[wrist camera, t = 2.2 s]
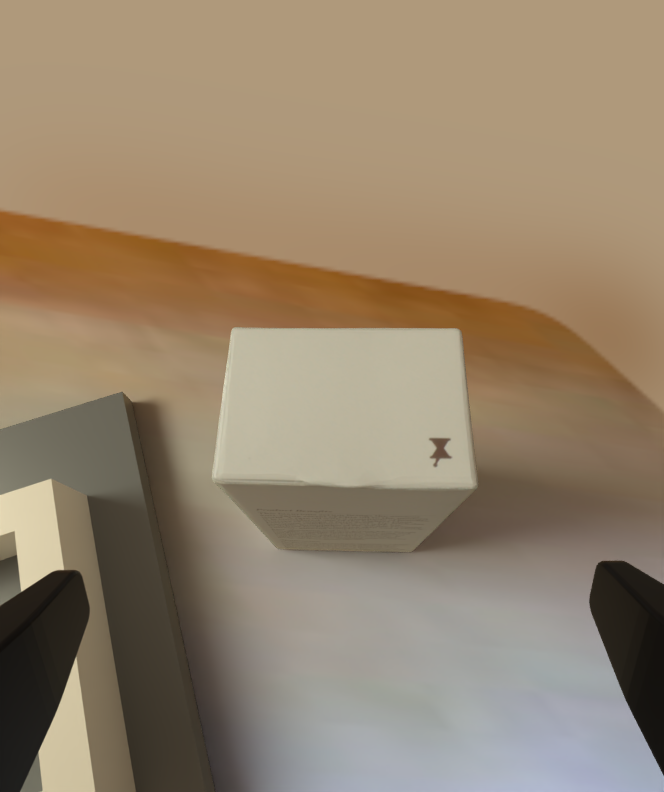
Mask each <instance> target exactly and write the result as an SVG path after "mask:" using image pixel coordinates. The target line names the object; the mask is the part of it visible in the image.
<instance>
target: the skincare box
mask: <svg viewBox="0 0 664 792" xmlns="http://www.w3.org/2000/svg"><path fill="white" fill-rule="evenodd" d="M212 480H213V481H214V482H215V484H216V485H217V486H218V487H219V488H220V489H222V490H223V491H224V493H225V494H226V495H227V496H228V497H229V498H230V499H231V500H232V501H233V502H234V503H235V504H236V505H237V506H238V507H239V508H240V509H241V510H242V511H243V512H244V514H246V516H247V517H248V518H249V519H250V520H251V521H252V522H253V523H254V524H255V525H256V526H257V527H258V529H259V530H260V531H261V532H262V533H263V534H264V535H265V536H266V537H267V538H268V539H269V540H270V542H271V543H272V544H273V545H274V546H275V547H276V548H278V549H292V550H332V551H375V552H412V551H413V550H414V549H415V548H417V546H419V544H421V543H422V542H423V540H425V538H427V537H428V536H429V535H430V534H431V533H432V532H433V531H434V530H435V529H436V528H437V527H438V526H439V525H440V524H441V523H442V522H443V521H444V520H445V519H446V518H447V517H448V516H449V515H450V514H451V513H452V512H453V511H454V510H455V509H456V508H457V507H459V506H460V505H461V504H462V503H463V502H464V501H465V500H466V499H467V498H468V497H469V496H470V495H471V494H472V493H473V492H474V491H475V490H476V489H477V487H478V477H477V469H476V460H475V452H474V443H473V434H472V425H471V416H470V406H469V397H468V388H467V378H466V369H465V359H464V349H463V339H462V333H461V331H460V330H459V329H456V328H452V329H436V328H241V327H236V328H233V329H232V331H231V338H230V345H229V352H228V359H227V367H226V374H225V381H224V389H223V397H222V405H221V412H220V418H219V425H218V433H217V441H216V449H215V457H214V465H213V472H212Z"/></svg>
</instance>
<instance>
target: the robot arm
mask: <svg viewBox="0 0 664 792" xmlns="http://www.w3.org/2000/svg"><path fill="white" fill-rule="evenodd" d="M589 603H590V609H591V613H592V616H593V618H594V621H595V623H596V626H597V628H598V631H599V634H600V636H601V639H602V641H603V644H604V646H605V649H606V652H607V654H608V657H609V659H610V662H611V664H612V667H613V670H614V672H615V675H616V677H617V680H618V682H619V685H620V687H621V690H622V692H623V694H624V697H625V699H626V701H627V703H628V706H629V708H630V710H631V712H632V714H633V716H634V718H635V720H636V722H637V724H638V726H639V728H640V730H641V732H642V734H643V736H644V738H645V740H646V742H647V744H648V746H649V747H650V749H651V751H652V753H653V755H654V757H655V759H656V761H657V763H658V765H659V767H660V769H661V771H662V773H663V775H664V584H662V583H660V582H659V581H657V580H655V579H654V578H652V577H650V576H649V575H647V574H645V573H644V572H642V571H640V570H639V569H637V568H635V567H634V566H632V565H630V564H629V563H627V562H624V561H601V562H599V563H598V565H597V566H596V569H595V574H594V579H593V583H592V588H591V593H590V599H589ZM89 615H90V605H89V601H88V597H87V593H86V589H85V585H84V581H83V577H82V574H81V573H80V572H79V571H77V570H56V571H53V572H51V573H49V574H48V575H46V576H45V577H43V578H42V579H40V580H39V581H37V582H36V583H34V584H32V585H31V586H29V587H28V588H26V589H25V590H23V591H22V592H20V593H19V594H17V595H16V596H14V597H13V598H11V599H10V600H8V601H7V602H5V603H3V604H2V605H0V792H20V791H21V789H22V787H23V785H24V782H25V780H26V778H27V776H28V774H29V771H30V769H31V767H32V765H33V763H34V761H35V758H36V756H37V754H38V752H39V750H40V747H41V745H42V743H43V741H44V739H45V736H46V734H47V732H48V730H49V728H50V726H51V723H52V721H53V719H54V716H55V714H56V712H57V709H58V707H59V704H60V701H61V699H62V696H63V693H64V690H65V688H66V685H67V682H68V679H69V676H70V673H71V670H72V667H73V664H74V661H75V658H76V655H77V653H78V650H79V647H80V644H81V641H82V638H83V635H84V632H85V629H86V626H87V623H88V620H89Z"/></svg>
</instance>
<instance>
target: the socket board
mask: <svg viewBox="0 0 664 792" xmlns="http://www.w3.org/2000/svg"><path fill="white" fill-rule="evenodd" d="M56 570H77V571H79V572H80V573H81V574H82V577H83V581H84V585H85V589H86V593H87V597H88V601H89V605H90V615H89V620H88V623H87V626H86V629H85V632H84V635H83V638H82V641H81V644H80V647H79V650H78V653H77V655H76V658H75V661H74V664H73V667H72V670H71V673H70V676H69V679H68V682H67V685H66V688H65V690H64V693H63V696H62V699H61V701H60V704H59V707H58V709H57V712H56V714H55V716H54V719H53V721H52V723H51V726H50V728H49V730H48V732H47V734H46V736H45V739H44V741H43V743H42V745H41V747H40V750H39V752H38V754H37V756H36V758H35V761H34V763H33V765H32V767H31V769H30V771H29V774H28V776H27V778H26V780H25V782H24V785H23V787H22V789H21V791H20V792H215V788H214V783H213V778H212V774H211V769H210V764H209V760H208V755H207V750H206V746H205V741H204V736H203V732H202V727H201V722H200V718H199V713H198V708H197V704H196V699H195V694H194V690H193V685H192V680H191V676H190V671H189V666H188V662H187V657H186V653H185V648H184V643H183V639H182V634H181V629H180V625H179V620H178V615H177V611H176V606H175V601H174V597H173V592H172V587H171V583H170V578H169V573H168V569H167V564H166V559H165V555H164V550H163V545H162V541H161V536H160V531H159V527H158V522H157V518H156V513H155V508H154V504H153V499H152V494H151V490H150V485H149V480H148V476H147V471H146V466H145V462H144V457H143V452H142V448H141V443H140V438H139V434H138V429H137V424H136V420H135V415H134V410H133V406H132V401H131V400H130V399H129V398H128V397H127V396H126V395H125V394H124V393H123V392H120V393H117V394H113V395H110V396H107V397H104V398H100V399H97V400H94V401H91V402H87V403H84V404H81V405H78V406H74V407H71V408H68V409H65V410H62V411H58V412H55V413H52V414H49V415H45V416H42V417H39V418H36V419H32V420H29V421H26V422H23V423H19V424H16V425H13V426H10V427H7V428H3V429H0V605H2V604H3V603H5V602H7V601H8V600H10V599H11V598H13V597H14V596H16V595H17V594H19V593H20V592H22V591H23V590H25V589H26V588H28V587H29V586H31V585H32V584H34V583H36V582H37V581H39V580H40V579H42V578H43V577H45V576H46V575H48V574H49V573H51V572H53V571H56Z"/></svg>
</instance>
